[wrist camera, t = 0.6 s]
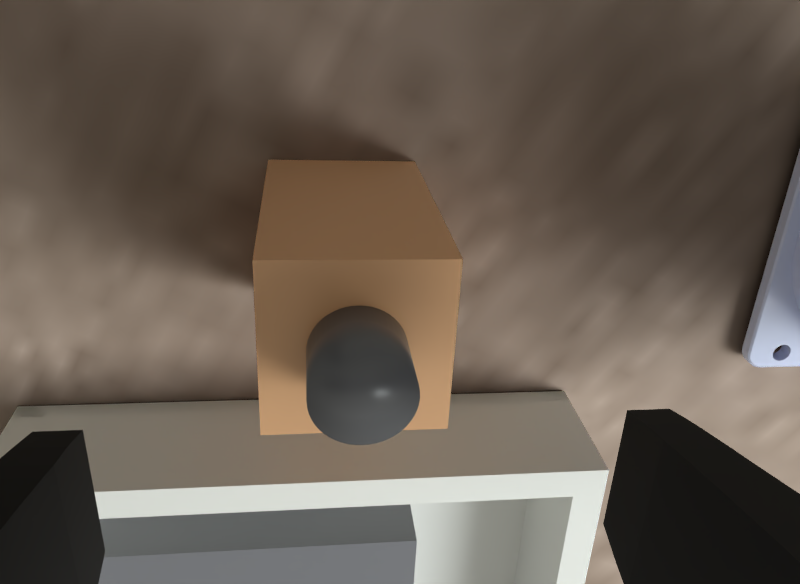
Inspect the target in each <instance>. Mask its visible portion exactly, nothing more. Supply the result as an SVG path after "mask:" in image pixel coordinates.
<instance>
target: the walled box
mask: <svg viewBox="0 0 800 584" xmlns="http://www.w3.org/2000/svg"><path fill="white" fill-rule="evenodd" d="M65 430H83V433H84V439H85V444H86V450H87V455H88V460H89V466H90V471H91V477H92V482H93V487H94V493H95V498H96V503H97V509H98V514H99V519H109V518H131V517H152V516H173V515H194V514H215V513H237V512H258V511H279V510H300V509H321V508H343V507H364V506H385V505H406V504H410V506H411V512H412V517H413V522H414V528H415V533H416V539H417V546H416V559H415V573H414V584H585V580H586V575H587V570H588V566H589V561H590V556H591V552H592V547H593V542H594V538H595V533H596V528H597V524H598V519H599V514H600V510H601V505H602V500H603V496H604V491H605V486H606V482H607V477H608V473H609V469H608V467H607V466H606V464H605V462H604V460H603V459H602V457H601V455H600V453H599V452H598V450H597V448H596V446H595V444H594V443H593V441H592V439H591V437H590V436H589V434H588V432H587V430H586V429H585V427H584V425H583V423H582V422H581V420H580V418H579V416H578V415H577V413H576V411H575V409H574V408H573V406H572V404H571V402H570V401H569V399H568V397H567V395H566V394H565V392H564V391H548V392H513V393H478V394H451V398H450V409H449V420H448V429H425V430H402V431H401V432H399V433H398V434H397V435H395V436H393V437H391V438H389V439H387V440H385V441H382V442H379V443H375V444H370V445H351V444H345V443H341V442H338V441H336V440H333V439H332V438H330V437H328V436H326V435H325V434H323V433H311V434H283V435H260V414H259V400H230V401H195V402H159V403H124V404H89V405H53V406H18V407H17V408H16V410H15V412H14V413H13V415H12V417H11V418H10V420H9V422H8V423H7V425H6V427H5V428H4V430H3V431H2V433H1V435H0V458H1V457H2V456H4V455H5V454H6V453H7V452H8V451H9V450H11V449H12V448H13V447H14V446H15V445H17V444H18V443H19V442H20V441H21V440H23V439H24V438H25V437H26V436H28V435H29V434H30V433H31V432H36V431H65Z"/></svg>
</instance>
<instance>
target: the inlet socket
mask: <svg viewBox="0 0 800 584" xmlns="http://www.w3.org/2000/svg"><path fill="white" fill-rule="evenodd" d="M99 520H100V525H101V530H102V536H103V541H104V547H105V555H104V560H103V564H102V569H101V574H100V579H99V583H98V584H414V573H415V559H416V546H417V539H416V533H415V528H414V522H413V517H412V512H411V506H410V504H406V505H385V506H364V507H343V508H321V509H300V510H279V511H258V512H237V513H215V514H194V515H173V516H152V517H131V518H109V519H99Z"/></svg>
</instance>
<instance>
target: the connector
mask: <svg viewBox="0 0 800 584" xmlns="http://www.w3.org/2000/svg"><path fill="white" fill-rule="evenodd" d="M252 262H253V284H254V306H255V327H256V349H257V371H258V392H259V414H260V435H283V434H311V433H323V434H325V435H326V436H328V437H330V438H332V439H333V440H336V441H338V442H341V443H345V444H351V445H370V444H375V443H379V442H382V441H385V440H387V439H389V438H391V437H393V436H395V435H397V434H398V433H399V432H401V431H402V430H425V429H448V420H449V409H450V398H451V387H452V376H453V364H454V353H455V342H456V331H457V320H458V309H459V298H460V287H461V276H462V265H463V258H462V256H461V254H460V252H459V250H458V248H457V246H456V244H455V242H454V240H453V238H452V236H451V234H450V232H449V230H448V228H447V226H446V224H445V222H444V220H443V218H442V216H441V214H440V212H439V210H438V208H437V206H436V204H435V202H434V200H433V198H432V196H431V194H430V192H429V190H428V187H427V185H426V183H425V181H424V179H423V177H422V175H421V173H420V171H419V169H418V167H417V165H416V163H415V161H339V160H268V164H267V170H266V177H265V183H264V189H263V196H262V202H261V209H260V215H259V221H258V228H257V234H256V241H255V247H254V253H253V260H252Z"/></svg>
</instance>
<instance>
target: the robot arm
mask: <svg viewBox="0 0 800 584" xmlns="http://www.w3.org/2000/svg"><path fill="white" fill-rule="evenodd" d="M781 345H782V347H781V349H780V350H779V351H777V352H776V353H773V352H774V350H775V349H776V348H777V347H779V346H781ZM742 354H743V357H744V358H745V359H746V360H747V361H748V362H749V363H750V364H751V365H753V366H755V367H791V366H800V149H799V153H798V156H797V160H796V163H795V167H794V170H793V174H792V177H791V181H790V184H789V187H788V191H787V194H786V198H785V201H784V205H783V208H782V212H781V215H780V219H779V222H778V226H777V229H776V232H775V236H774V239H773V243H772V246H771V250H770V253H769V257H768V260H767V264H766V267H765V271H764V274H763V277H762V281H761V284H760V288H759V291H758V295H757V298H756V302H755V305H754V309H753V312H752V316H751V319H750V323H749V326H748V329H747V333H746V336H745V340H744V343H743V347H742ZM603 524H604V527H605V530H606V533H607V536H608V539H609V542H610V545H611V548H612V551H613V555H614V558H615V561H616V563H617V566H618V569H619V572H620V574H621V577H622V580H623V583H624V584H800V494H799V493H797V492H796V491H794V490H793V489H791V488H790V487H788V486H787V485H785V484H784V483H782V482H781V481H779V480H778V479H776V478H775V477H773V476H772V475H770V474H769V473H767V472H766V471H764V470H763V469H761V468H760V467H758V466H757V465H755V464H754V463H752V462H751V461H749V460H748V459H746V458H745V457H743V456H742V455H741V454H739V453H738V452H736V451H735V450H733V449H732V448H730V447H729V446H727V445H726V444H724V443H723V442H721V441H720V440H718V439H717V438H715V437H714V436H712V435H711V434H709V433H708V432H706V431H705V430H703V429H702V428H700V427H698V426H697V425H695V424H694V423H692V422H691V421H689V420H687V419H686V418H684V417H682V416H681V415H679V414H677V413H676V412H674V411H672V410H670V409H653V410H627V414H626V419H625V424H624V428H623V433H622V438H621V443H620V447H619V452H618V457H617V462H616V466H615V471H614V476H613V481H612V485H611V490H610V495H609V500H608V504H607V509H606V514H605V519H604V523H603ZM104 555H105V547H104V541H103V536H102V530H101V525H100V520H99V514H98V509H97V503H96V498H95V493H94V487H93V482H92V477H91V471H90V466H89V460H88V455H87V450H86V444H85V439H84V433H83V430H65V431H36V432H31V433H30V434H29V435H28V436H26V437H25V438H24V439H23V440H21V441H20V442H19V443H18V444H17V445H15V446H14V447H13V448H12V449H11V450H9V451H8V452H7V453H6V454H5V455H4V456H2V457H1V458H0V584H98V583H99V579H100V574H101V569H102V564H103V560H104Z"/></svg>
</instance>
